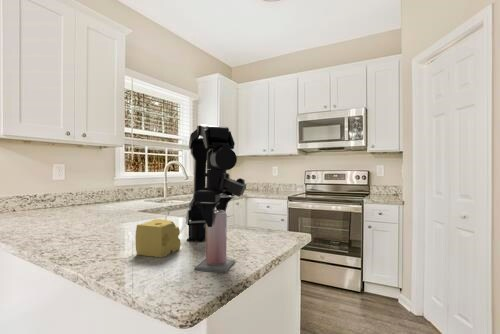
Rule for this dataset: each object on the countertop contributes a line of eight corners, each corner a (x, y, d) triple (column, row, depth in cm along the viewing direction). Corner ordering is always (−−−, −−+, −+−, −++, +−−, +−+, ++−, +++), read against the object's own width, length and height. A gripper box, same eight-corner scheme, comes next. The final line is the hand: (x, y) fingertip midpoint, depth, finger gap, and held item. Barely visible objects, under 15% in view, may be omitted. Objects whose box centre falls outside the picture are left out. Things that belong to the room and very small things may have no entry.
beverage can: (206, 259, 83) (207, 209, 83) (226, 259, 83) (226, 209, 83) (204, 266, 77) (205, 213, 77) (226, 266, 77) (226, 213, 77)
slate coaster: (194, 269, 76) (194, 267, 76) (207, 259, 85) (207, 257, 85) (225, 273, 74) (225, 270, 74) (234, 262, 83) (234, 259, 83)
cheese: (180, 249, 95) (180, 220, 95) (161, 259, 85) (161, 226, 85) (155, 246, 99) (155, 218, 99) (133, 255, 89) (134, 224, 89)
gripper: (233, 170, 69) (233, 233, 69) (251, 169, 87) (250, 219, 87) (192, 169, 71) (191, 230, 71) (217, 169, 90) (217, 217, 90)
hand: (216, 223), depth 80 cm, fingers open, 9 cm apart
